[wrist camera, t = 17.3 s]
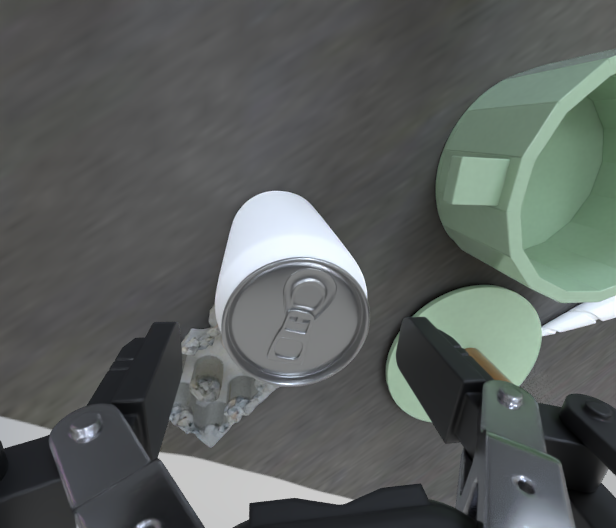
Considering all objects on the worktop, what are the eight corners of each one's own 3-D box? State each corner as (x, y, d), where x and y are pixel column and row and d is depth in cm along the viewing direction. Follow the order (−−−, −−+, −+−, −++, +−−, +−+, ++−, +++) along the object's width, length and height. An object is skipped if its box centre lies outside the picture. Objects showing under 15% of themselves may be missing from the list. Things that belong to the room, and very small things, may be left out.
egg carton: (234, 280, 24) (231, 307, 20) (303, 337, 27) (311, 370, 23) (139, 370, 26) (120, 411, 22) (213, 416, 28) (208, 459, 25)
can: (334, 205, 23) (408, 272, 12) (305, 285, 25) (345, 405, 14) (244, 176, 21) (234, 223, 10) (220, 264, 23) (190, 382, 12)
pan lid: (397, 281, 26) (436, 322, 21) (554, 280, 29) (627, 317, 23) (372, 419, 31) (398, 481, 26) (506, 408, 34) (556, 463, 28)
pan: (419, 54, 20) (504, 14, 13) (666, 82, 23) (837, 61, 17) (386, 258, 25) (436, 306, 18) (594, 259, 28) (703, 300, 21)
